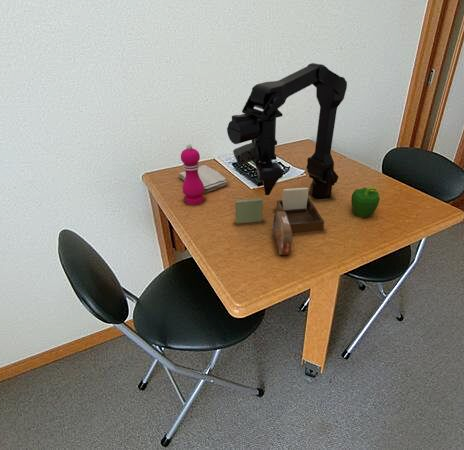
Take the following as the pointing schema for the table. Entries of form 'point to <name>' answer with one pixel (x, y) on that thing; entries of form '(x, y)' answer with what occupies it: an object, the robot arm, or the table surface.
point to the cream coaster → (295, 198)
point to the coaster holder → (303, 218)
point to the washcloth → (208, 178)
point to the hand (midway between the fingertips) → (263, 187)
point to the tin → (282, 232)
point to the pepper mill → (192, 176)
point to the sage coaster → (249, 210)
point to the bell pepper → (365, 202)
